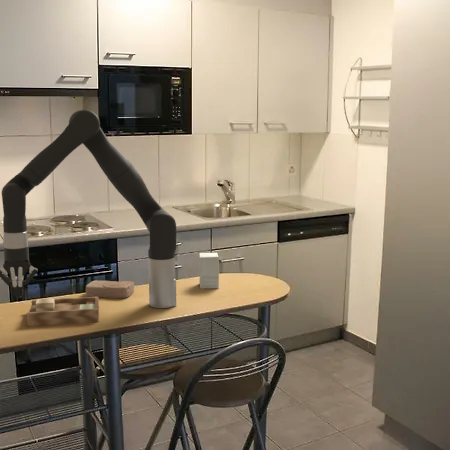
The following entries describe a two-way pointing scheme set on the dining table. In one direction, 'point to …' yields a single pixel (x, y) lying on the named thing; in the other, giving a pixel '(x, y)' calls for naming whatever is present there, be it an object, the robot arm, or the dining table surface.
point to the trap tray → (66, 312)
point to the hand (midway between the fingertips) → (18, 297)
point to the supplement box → (209, 270)
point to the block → (45, 305)
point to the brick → (110, 289)
